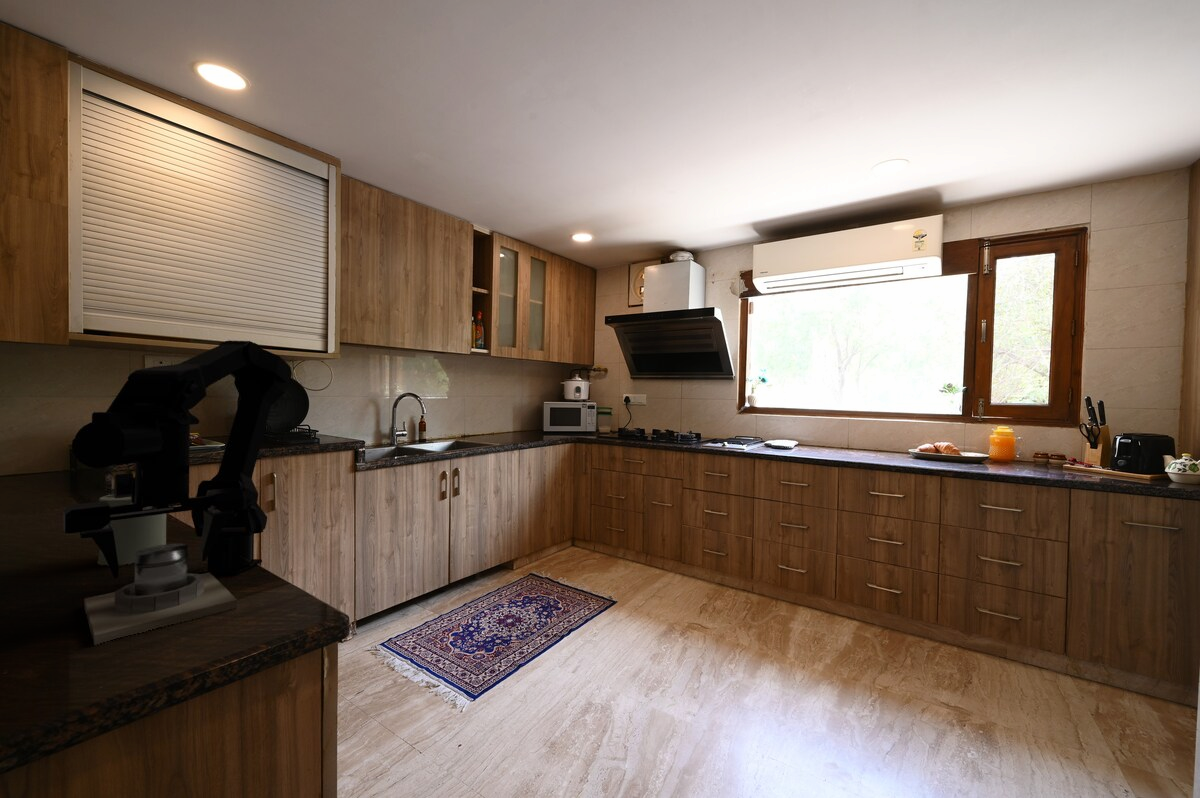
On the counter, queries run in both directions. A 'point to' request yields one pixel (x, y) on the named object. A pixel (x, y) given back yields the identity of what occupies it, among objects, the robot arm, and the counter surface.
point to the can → (134, 532)
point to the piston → (160, 569)
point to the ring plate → (155, 607)
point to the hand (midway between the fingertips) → (161, 568)
